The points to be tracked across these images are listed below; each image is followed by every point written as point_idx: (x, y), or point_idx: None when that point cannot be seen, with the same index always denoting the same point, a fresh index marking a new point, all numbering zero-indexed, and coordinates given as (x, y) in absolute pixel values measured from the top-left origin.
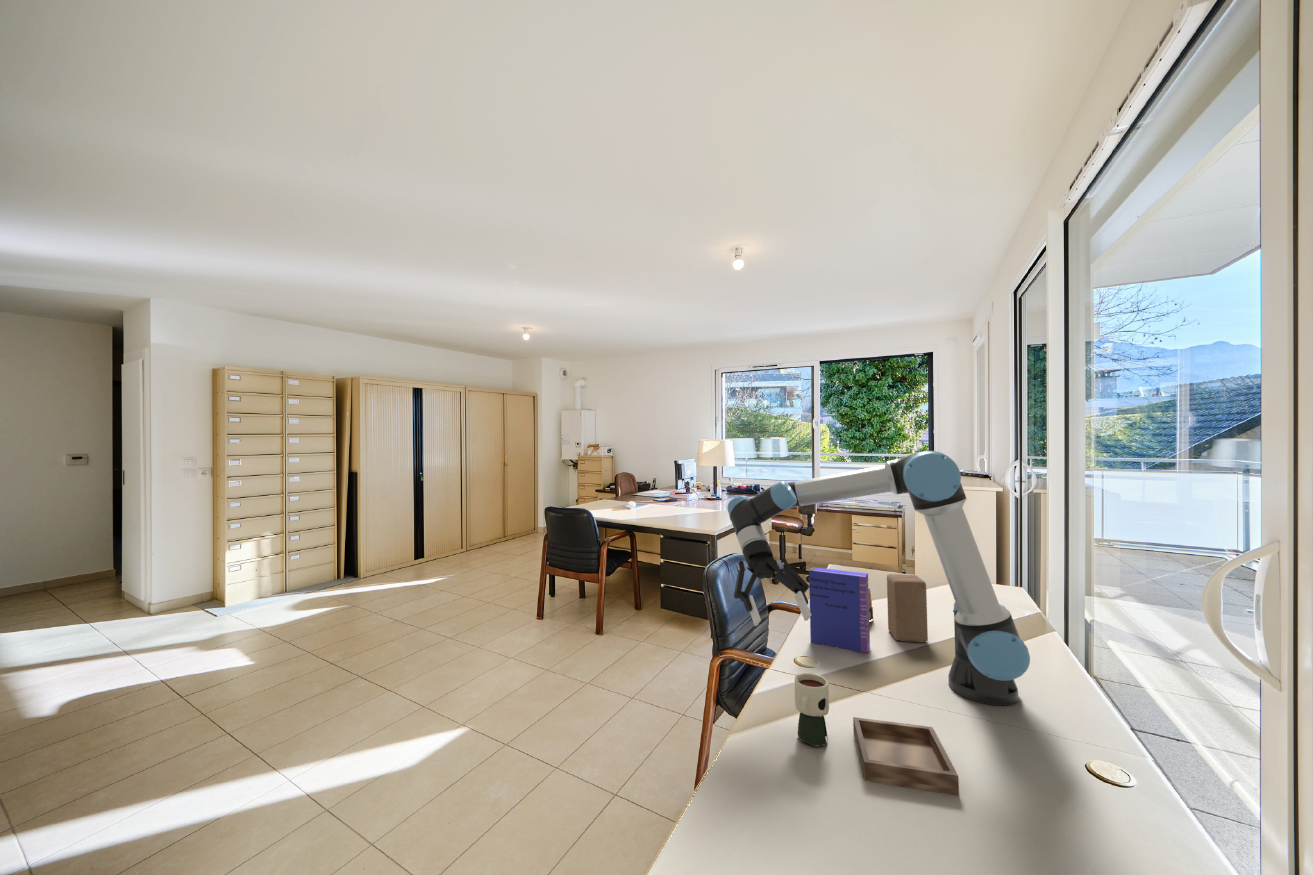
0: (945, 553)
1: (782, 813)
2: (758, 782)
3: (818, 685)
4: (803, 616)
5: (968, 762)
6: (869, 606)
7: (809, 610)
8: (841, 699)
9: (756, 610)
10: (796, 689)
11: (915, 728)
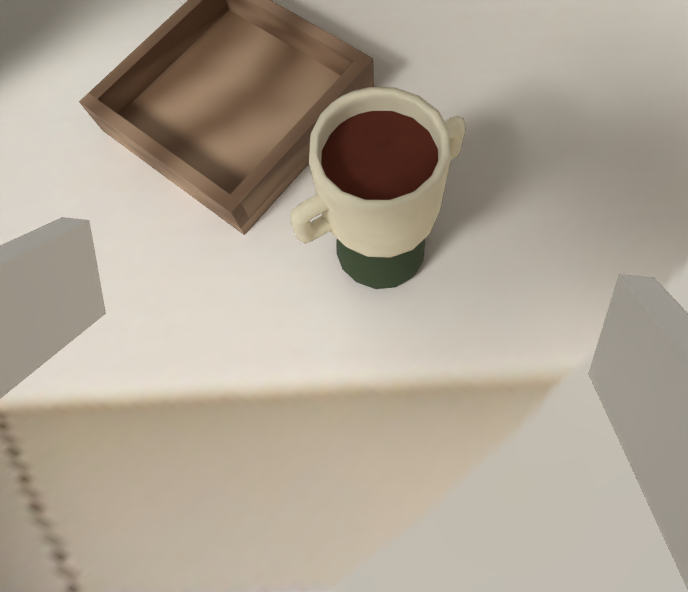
0: None
1: (622, 75)
2: (631, 166)
3: (347, 154)
4: (83, 322)
5: (106, 62)
6: None
7: (30, 232)
8: (113, 399)
9: (680, 330)
10: (447, 174)
11: (121, 117)
